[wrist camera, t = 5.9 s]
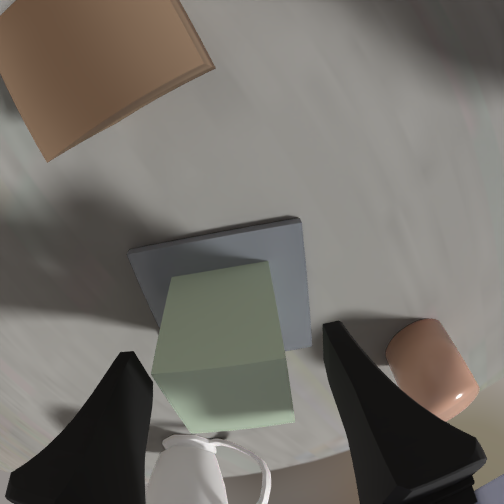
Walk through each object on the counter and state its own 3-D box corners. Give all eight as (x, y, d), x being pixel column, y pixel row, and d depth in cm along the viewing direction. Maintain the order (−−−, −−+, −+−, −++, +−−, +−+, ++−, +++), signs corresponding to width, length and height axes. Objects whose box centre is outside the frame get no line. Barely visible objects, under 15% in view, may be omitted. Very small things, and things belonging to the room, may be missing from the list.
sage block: (279, 330, 15) (295, 422, 11) (197, 342, 15) (191, 433, 11) (268, 260, 13) (286, 358, 9) (171, 277, 13) (150, 374, 9)
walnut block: (166, -22, 8) (124, -77, 3) (215, 68, 10) (203, 63, 5) (69, 38, 8) (-17, 33, 4) (115, 123, 10) (47, 163, 6)
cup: (128, 432, 21) (115, 523, 14) (242, 408, 19) (249, 523, 12) (180, 464, 25) (176, 541, 18) (281, 444, 23) (293, 533, 16)
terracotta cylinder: (448, 311, 16) (489, 374, 12) (435, 355, 18) (465, 413, 14) (389, 328, 16) (424, 400, 12) (381, 371, 18) (406, 436, 14)
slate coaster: (299, 217, 13) (301, 222, 12) (310, 340, 16) (312, 346, 16) (129, 249, 13) (126, 254, 12) (179, 360, 16) (178, 365, 16)
